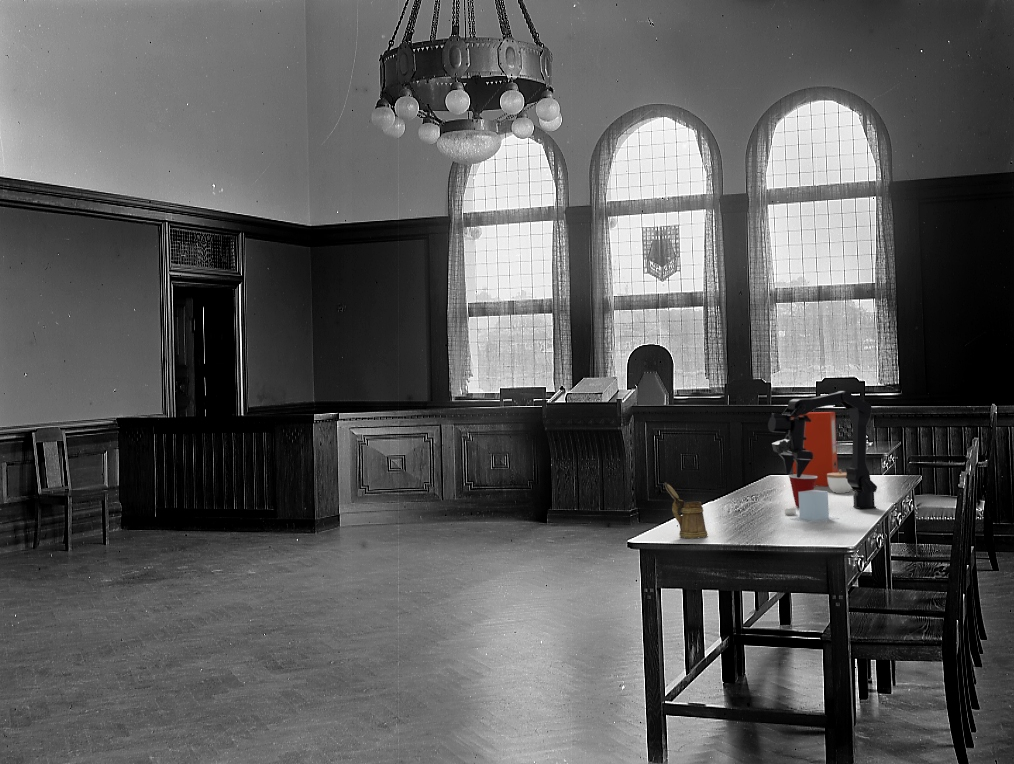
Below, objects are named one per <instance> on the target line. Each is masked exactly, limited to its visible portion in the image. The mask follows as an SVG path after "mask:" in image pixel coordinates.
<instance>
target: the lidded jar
mask: <svg viewBox="0 0 1014 764" xmlns="http://www.w3.org/2000/svg"><path fill="white" fill-rule="evenodd" d="M846 475H847V472H844V471H842V469H838V472H835V473H828V474H827V480H828V485H829V486H828V488H829V489H830V490H831V491H832V492H833V493H834V492H836V494H844V493H843V492H848V493H850V491H851V490H852V488H851V486H850V484H849V483H848V482H847V479H846Z"/></svg>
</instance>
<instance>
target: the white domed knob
mask: <svg viewBox="0 0 1014 764" xmlns="http://www.w3.org/2000/svg"><path fill="white" fill-rule="evenodd" d="M796 514H797V507H794V506H793V507H792V506H791V507H784V515H786V516H794V515H796Z"/></svg>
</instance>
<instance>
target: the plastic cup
mask: <svg viewBox="0 0 1014 764" xmlns="http://www.w3.org/2000/svg"><path fill="white" fill-rule="evenodd" d="M787 475H788V478H789V481H790V486H791V489H792V490H791V491H792V496H793V499H794V504H795V507H796V506H798V507H797V508H799V493H798V492H802V491H809V490H815V486H814V485H815V481H816V479H817V476H812V475H801V477H800V478H798V477H797V474H794V475H793V474H787Z"/></svg>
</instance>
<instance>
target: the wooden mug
mask: <svg viewBox="0 0 1014 764" xmlns="http://www.w3.org/2000/svg"><path fill="white" fill-rule="evenodd" d="M664 487H665V489H666V491H667V492H668V494H669V495H670V496H671V498H672V499H673V500H674V501H673V502H672V507H671V510H672V515H673V516H674V518H675V519H676V521H677V523H678V525H679V529H680V530H679V536H681V537H680V538H682V537H686V538H685V539H690V538H694V539H698V538H697V537H704V538H706V537H705V536H707V535H708V531H707V530H706V529H707V528H706V523H705V518H704V507H703V506H702V502H701V501H689V502H685V501H684V500H682V499H680V497H679V495H678V493H677V491H676V490H675V489H674V488H673V487H672V485H670V484H669V483H667V482H664ZM680 508H681V509H680ZM679 509H680V512H681V515H680V514H679V512H678V511H679ZM707 537H708V536H707Z"/></svg>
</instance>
